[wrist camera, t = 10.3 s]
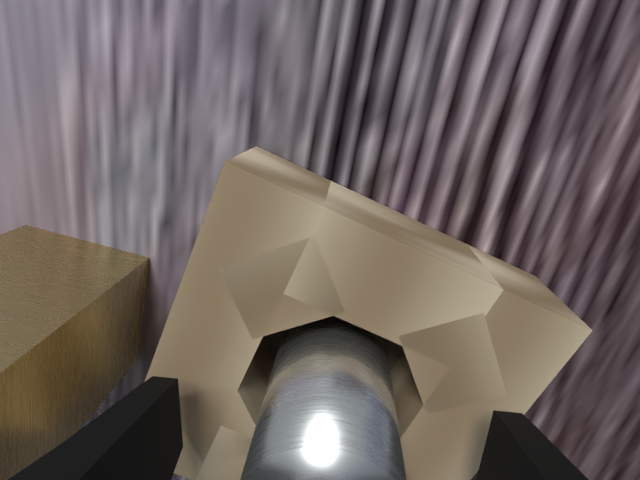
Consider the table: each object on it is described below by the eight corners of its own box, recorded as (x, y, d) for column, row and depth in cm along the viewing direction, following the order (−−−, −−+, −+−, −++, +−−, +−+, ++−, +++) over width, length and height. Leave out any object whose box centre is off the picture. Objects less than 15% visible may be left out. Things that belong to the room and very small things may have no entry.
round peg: (386, 290, 12) (417, 455, 7) (382, 377, 13) (407, 583, 8) (281, 289, 12) (224, 446, 7) (287, 374, 13) (241, 573, 8)
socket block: (535, 276, 12) (592, 330, 9) (392, 475, 15) (402, 563, 12) (256, 146, 11) (225, 161, 8) (165, 381, 14) (118, 451, 11)
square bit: (149, 257, 13) (-12, 382, 7) (137, 359, 14) (-6, 533, 8) (26, 224, 13) (-236, 324, 7) (26, 330, 14) (-194, 485, 8)
